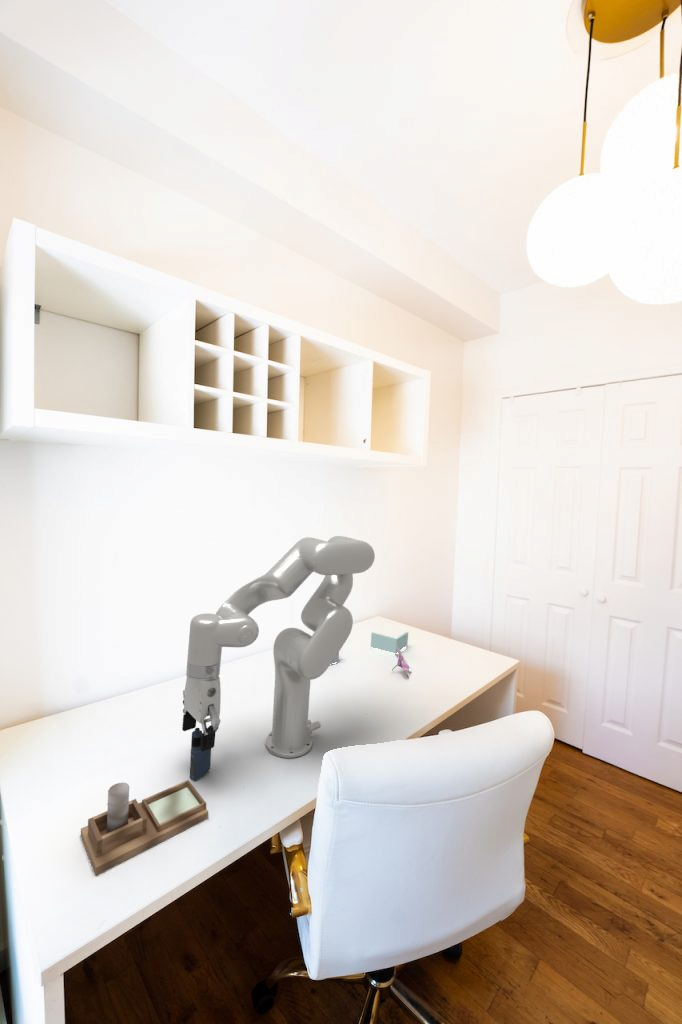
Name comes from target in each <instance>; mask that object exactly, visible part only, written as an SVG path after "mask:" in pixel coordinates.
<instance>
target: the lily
mask: <svg viewBox="0 0 682 1024" xmlns="http://www.w3.org/2000/svg"><path fill="white" fill-rule="evenodd" d="M396 646H397V645H396ZM397 649H398V653H399V655H398V654H396V653H395V655H396V658H397V663H396V665H395V666H393V668H392V669H391V670H392V671H393V670H394V669H395V668H396V667H400V668H402V670H403V671H404V672H405V673H406V674H407V672H408V673H409V672H410V671H409V668H410V669H411V667H410V665H409V664H408V662H407V660H406V659H405V657H404V655H403V654H402V653H401V651H400V650H399V648H398V646H397Z"/></svg>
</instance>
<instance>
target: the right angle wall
mask: <svg viewBox="0 0 682 1024" xmlns="http://www.w3.org/2000/svg"><path fill="white" fill-rule="evenodd" d="M408 639H409V631H405V632H404V633H402V634H401V635H399V636H397V637H394V636H393V637H392V636H389V635H385V634H382V633H379V632H378V633H377V632H374V631H372V632H371V638H370V648H371V647H373V648H378V649H381V650H385V651H389V652H393V653H397V652H398V649H397V646H398V648H399V650H401V649H402V648H403V647H405V646H406V645H407V646H408V643H409V642H408ZM396 645H397V646H396Z"/></svg>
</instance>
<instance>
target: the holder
mask: <svg viewBox="0 0 682 1024" xmlns="http://www.w3.org/2000/svg"><path fill="white" fill-rule="evenodd" d="M208 819H209V810H208V809H207V801H205V799H204V798H203V797H202V795H201V794H200V793H199V792H198V790H197V789H196V788H195V786H194V785H193V784H192V783H191V782H190V780H189V779H187V780H184V781H182V782H180V783H178V784H176V785H173V786H171V787H168V788H166V789H164V790H162V791H160V792H156V793H155V794H153V795H150V796H148V797H145V798H143V799H141V802H138V801H137V798H135V799H132V800H130V785H129V784H128V783H127V782H118V783H115V784H113V785H112V786H110V787H109V788H108V790H107V810H106V811H104V812H102V813H100V814H97V815H95V816H92V817H90V818H88V820H87V825H85V826H84V827H81V828H80V838H81V841H82V843H83V847H84V848H85V851H86V853H87V856H88V859H89V862H90V864H91V867H92V870H93V872H94V875H95V876H99V875H100V874H103V873H105V872H106V871H108V870H111V869H112V868H114V867H116V866H118V865H119V864H121V863H124V862H126V861H127V860H129V859H131V858H133V857H135V856H138V855H139V854H141V853H143V852H146V851H147V850H149V849H151V848H153V847H155V846H157V845H159V844H161V843H162V842H164V841H166V840H168V839H170V838H173V837H175V836H176V835H178V834H180V833H183V832H184V831H186V830H188V829H190V828H192V827H194V826H195V825H197V824H199V823H201V822H204V821H205V820H208Z"/></svg>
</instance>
